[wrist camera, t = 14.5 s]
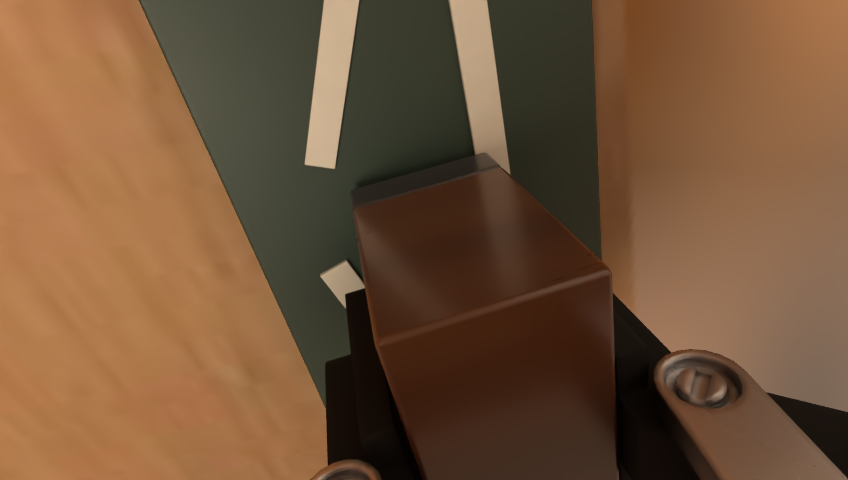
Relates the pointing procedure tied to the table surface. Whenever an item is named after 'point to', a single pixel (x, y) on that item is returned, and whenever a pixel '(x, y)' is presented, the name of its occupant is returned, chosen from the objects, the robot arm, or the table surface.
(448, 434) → the eraser
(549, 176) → the chalkboard
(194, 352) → the table surface
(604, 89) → the table surface
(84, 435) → the table surface
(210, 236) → the table surface
